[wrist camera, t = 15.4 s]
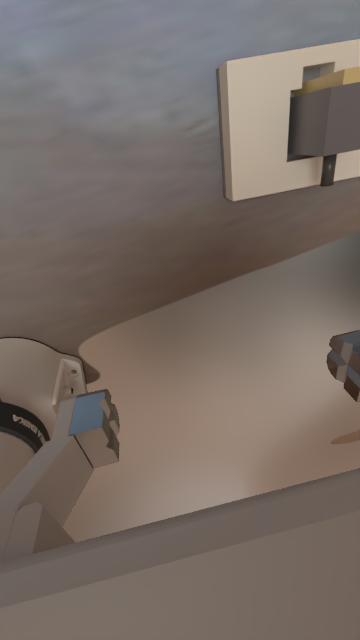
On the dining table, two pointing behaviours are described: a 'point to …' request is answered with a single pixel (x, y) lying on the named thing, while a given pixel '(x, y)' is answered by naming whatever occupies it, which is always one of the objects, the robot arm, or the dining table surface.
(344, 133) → the plug
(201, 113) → the dining table surface
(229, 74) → the socket block
